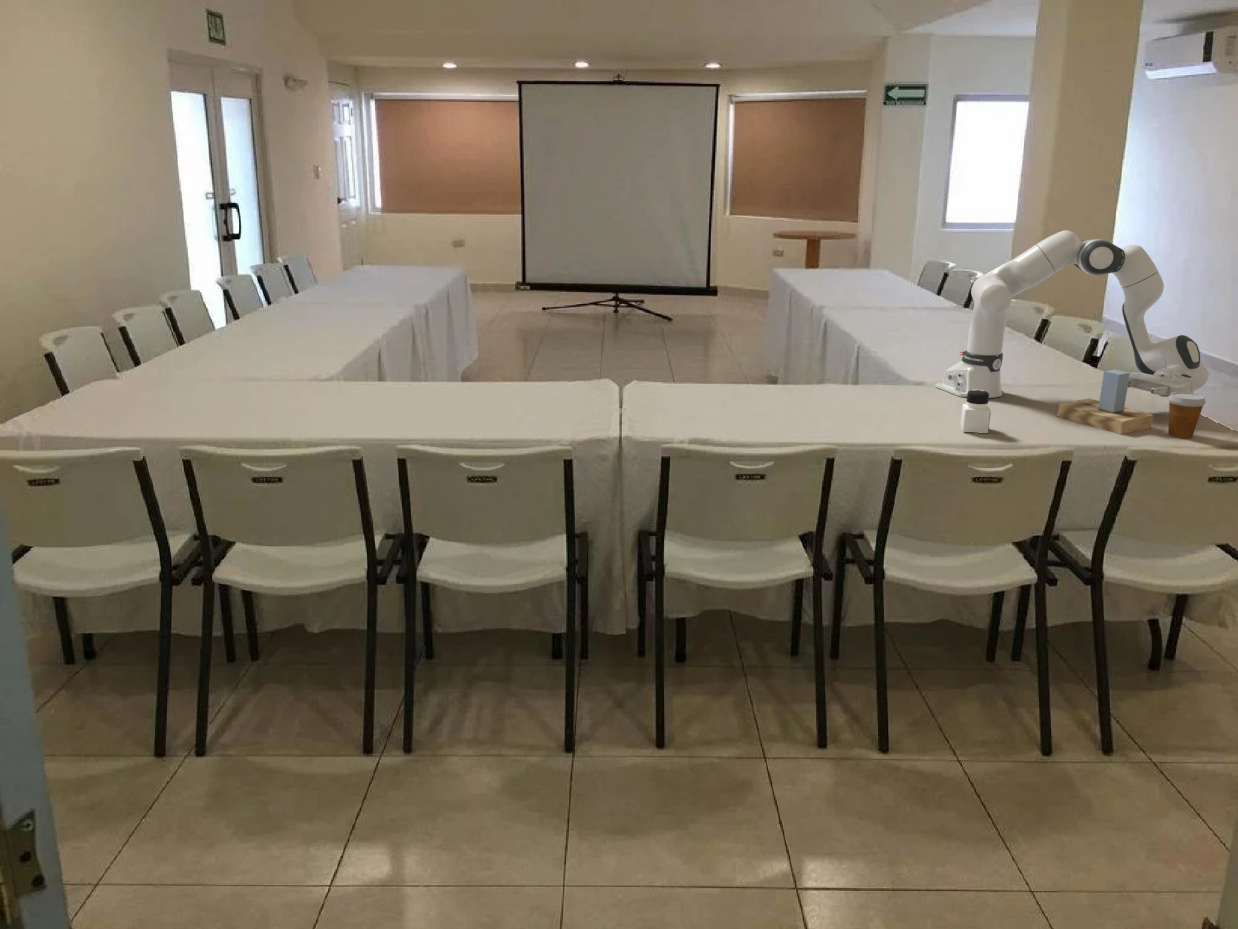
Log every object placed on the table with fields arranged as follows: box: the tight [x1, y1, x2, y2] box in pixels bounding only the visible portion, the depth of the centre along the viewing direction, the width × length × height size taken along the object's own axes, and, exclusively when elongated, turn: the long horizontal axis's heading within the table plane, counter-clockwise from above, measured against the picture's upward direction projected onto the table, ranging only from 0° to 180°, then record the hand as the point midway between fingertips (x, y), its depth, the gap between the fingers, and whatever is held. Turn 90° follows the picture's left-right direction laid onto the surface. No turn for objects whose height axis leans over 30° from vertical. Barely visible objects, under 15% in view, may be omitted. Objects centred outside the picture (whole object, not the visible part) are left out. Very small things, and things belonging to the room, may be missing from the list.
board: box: [1056, 398, 1154, 435], centre depth 307 cm, size 22×14×4 cm, turn 29°
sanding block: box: [1098, 369, 1131, 414], centre depth 303 cm, size 5×5×12 cm
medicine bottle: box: [959, 390, 991, 434], centre depth 298 cm, size 7×7×12 cm
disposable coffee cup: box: [1167, 392, 1206, 439], centre depth 293 cm, size 10×10×12 cm
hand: (1138, 387), depth 308 cm, fingers open, 8 cm apart
